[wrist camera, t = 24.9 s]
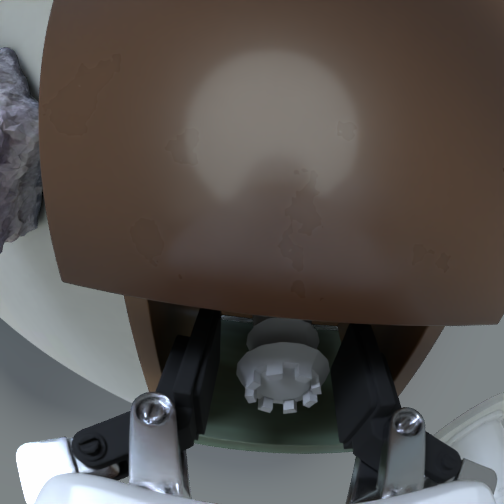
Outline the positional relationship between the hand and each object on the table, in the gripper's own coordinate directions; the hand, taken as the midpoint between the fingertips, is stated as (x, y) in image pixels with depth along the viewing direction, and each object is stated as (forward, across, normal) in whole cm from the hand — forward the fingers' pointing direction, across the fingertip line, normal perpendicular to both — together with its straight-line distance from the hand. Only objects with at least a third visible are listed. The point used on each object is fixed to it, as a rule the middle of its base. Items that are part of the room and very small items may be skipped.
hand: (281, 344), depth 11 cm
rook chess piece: (+6, 0, 0) cm, 6 cm away
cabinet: (+8, 0, -11) cm, 14 cm away
